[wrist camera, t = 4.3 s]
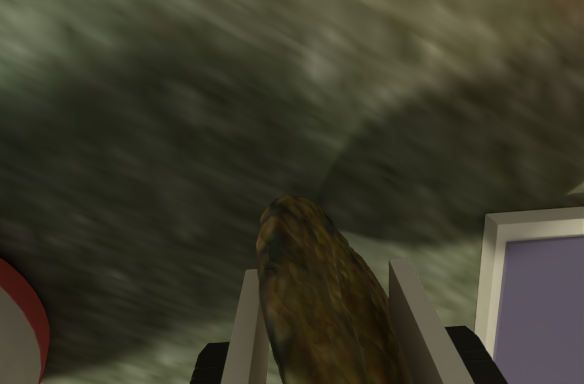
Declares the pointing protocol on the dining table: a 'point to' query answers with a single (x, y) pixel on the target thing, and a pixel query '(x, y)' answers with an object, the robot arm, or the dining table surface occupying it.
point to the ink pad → (533, 295)
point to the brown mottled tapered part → (322, 302)
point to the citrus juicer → (21, 330)
